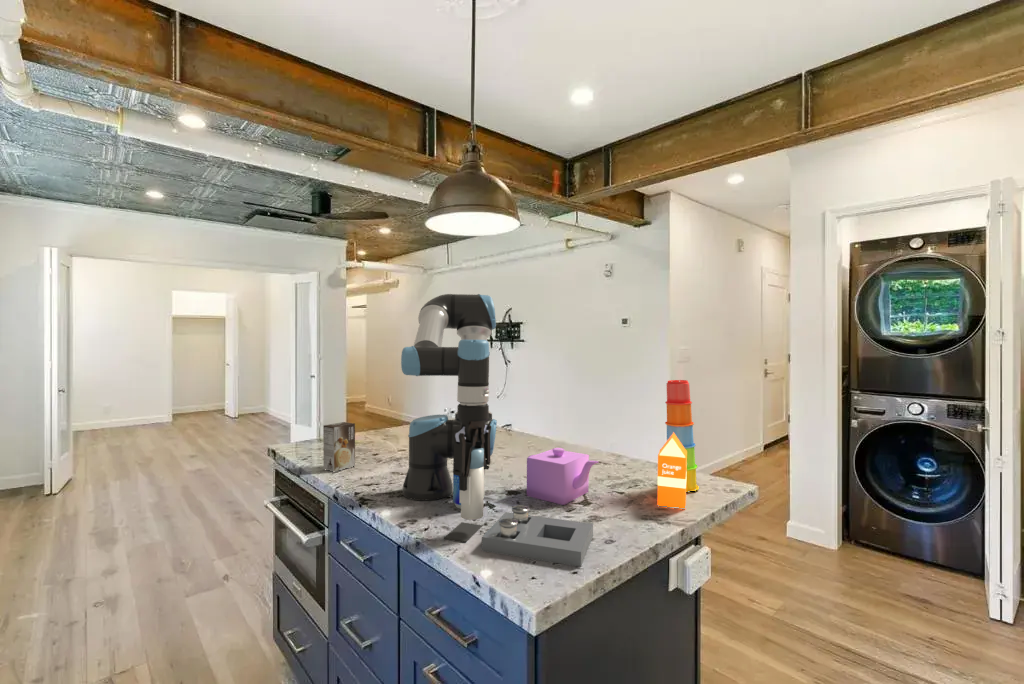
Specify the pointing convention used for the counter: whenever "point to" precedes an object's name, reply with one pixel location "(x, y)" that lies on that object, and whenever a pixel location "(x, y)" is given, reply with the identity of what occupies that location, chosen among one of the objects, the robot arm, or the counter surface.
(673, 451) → the orange juice
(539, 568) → the counter surface
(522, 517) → the plunger far
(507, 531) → the chrome dome knob
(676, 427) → the stacking cups
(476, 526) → the mat
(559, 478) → the teapot
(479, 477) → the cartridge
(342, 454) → the coffee box
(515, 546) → the housing
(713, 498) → the counter surface
